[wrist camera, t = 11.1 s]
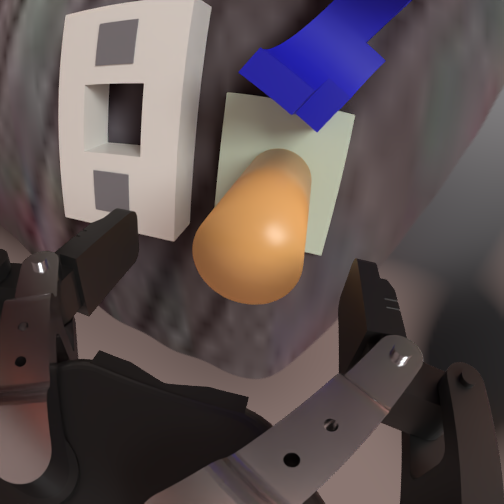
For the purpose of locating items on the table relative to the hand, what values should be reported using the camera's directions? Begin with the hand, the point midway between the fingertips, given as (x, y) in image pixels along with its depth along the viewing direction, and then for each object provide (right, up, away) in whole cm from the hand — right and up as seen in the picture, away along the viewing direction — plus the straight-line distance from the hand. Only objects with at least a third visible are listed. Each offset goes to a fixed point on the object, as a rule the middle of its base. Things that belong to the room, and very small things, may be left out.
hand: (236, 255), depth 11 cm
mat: (+2, +5, +10) cm, 11 cm away
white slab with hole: (-8, +10, +9) cm, 16 cm away
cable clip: (+7, +13, +4) cm, 15 cm away
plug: (+2, +5, +9) cm, 11 cm away
